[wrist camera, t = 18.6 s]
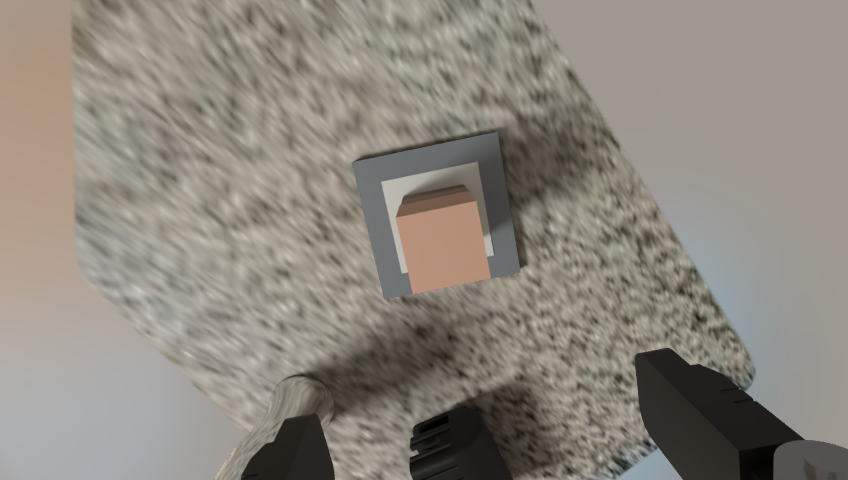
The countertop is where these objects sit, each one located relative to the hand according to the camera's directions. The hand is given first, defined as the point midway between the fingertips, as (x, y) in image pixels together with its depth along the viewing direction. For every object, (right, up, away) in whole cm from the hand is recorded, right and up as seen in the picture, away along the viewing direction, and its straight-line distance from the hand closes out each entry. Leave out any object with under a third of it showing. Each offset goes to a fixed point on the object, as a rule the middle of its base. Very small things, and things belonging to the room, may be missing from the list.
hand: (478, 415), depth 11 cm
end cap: (+3, -16, +33) cm, 37 cm away
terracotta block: (0, +5, +22) cm, 22 cm away
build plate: (0, +6, +27) cm, 28 cm away
